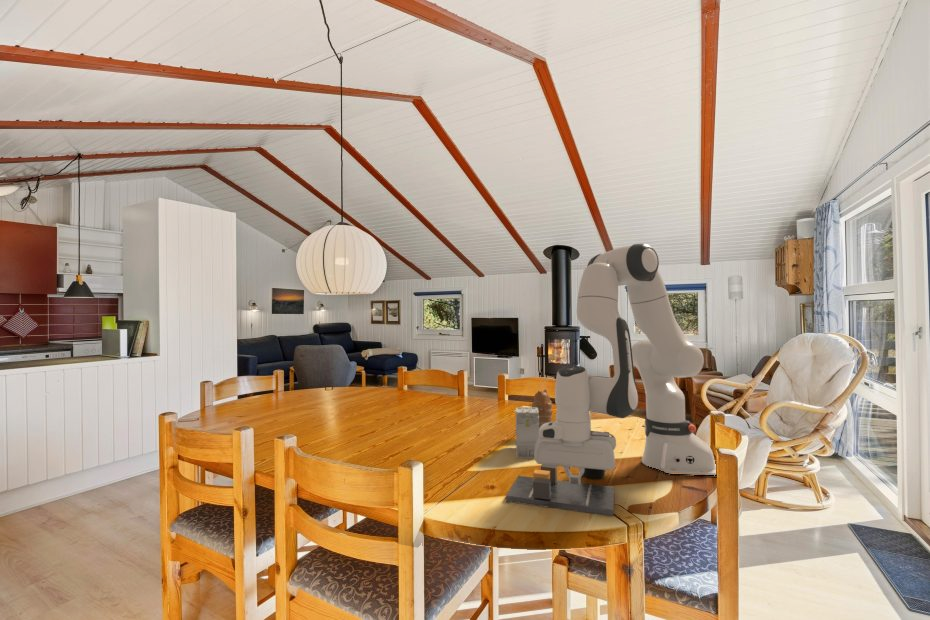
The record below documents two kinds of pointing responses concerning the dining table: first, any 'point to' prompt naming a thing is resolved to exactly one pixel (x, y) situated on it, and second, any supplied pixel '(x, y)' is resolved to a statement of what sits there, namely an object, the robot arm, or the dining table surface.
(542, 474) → the toggle
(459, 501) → the dining table surface
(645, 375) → the robot arm
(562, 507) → the panel
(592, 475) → the supplement bottle
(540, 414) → the brown ribbed ovoid
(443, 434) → the dining table surface
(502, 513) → the dining table surface
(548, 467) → the toggle
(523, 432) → the circuit breaker
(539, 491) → the toggle
